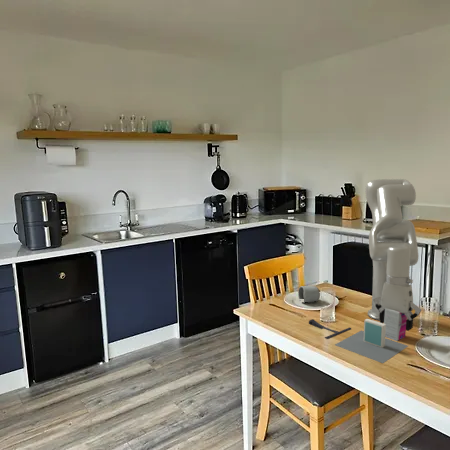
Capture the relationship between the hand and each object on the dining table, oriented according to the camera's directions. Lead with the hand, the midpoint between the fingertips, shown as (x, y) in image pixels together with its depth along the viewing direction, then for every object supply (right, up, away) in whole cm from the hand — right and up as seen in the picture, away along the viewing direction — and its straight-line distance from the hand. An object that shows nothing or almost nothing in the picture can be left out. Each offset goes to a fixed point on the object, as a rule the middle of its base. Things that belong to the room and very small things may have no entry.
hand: (395, 325), depth 146 cm
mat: (-11, -6, -5) cm, 14 cm away
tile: (-9, -5, -4) cm, 11 cm away
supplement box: (0, -5, +2) cm, 5 cm away
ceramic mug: (-23, +1, +42) cm, 49 cm away
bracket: (-23, -5, +10) cm, 26 cm away
